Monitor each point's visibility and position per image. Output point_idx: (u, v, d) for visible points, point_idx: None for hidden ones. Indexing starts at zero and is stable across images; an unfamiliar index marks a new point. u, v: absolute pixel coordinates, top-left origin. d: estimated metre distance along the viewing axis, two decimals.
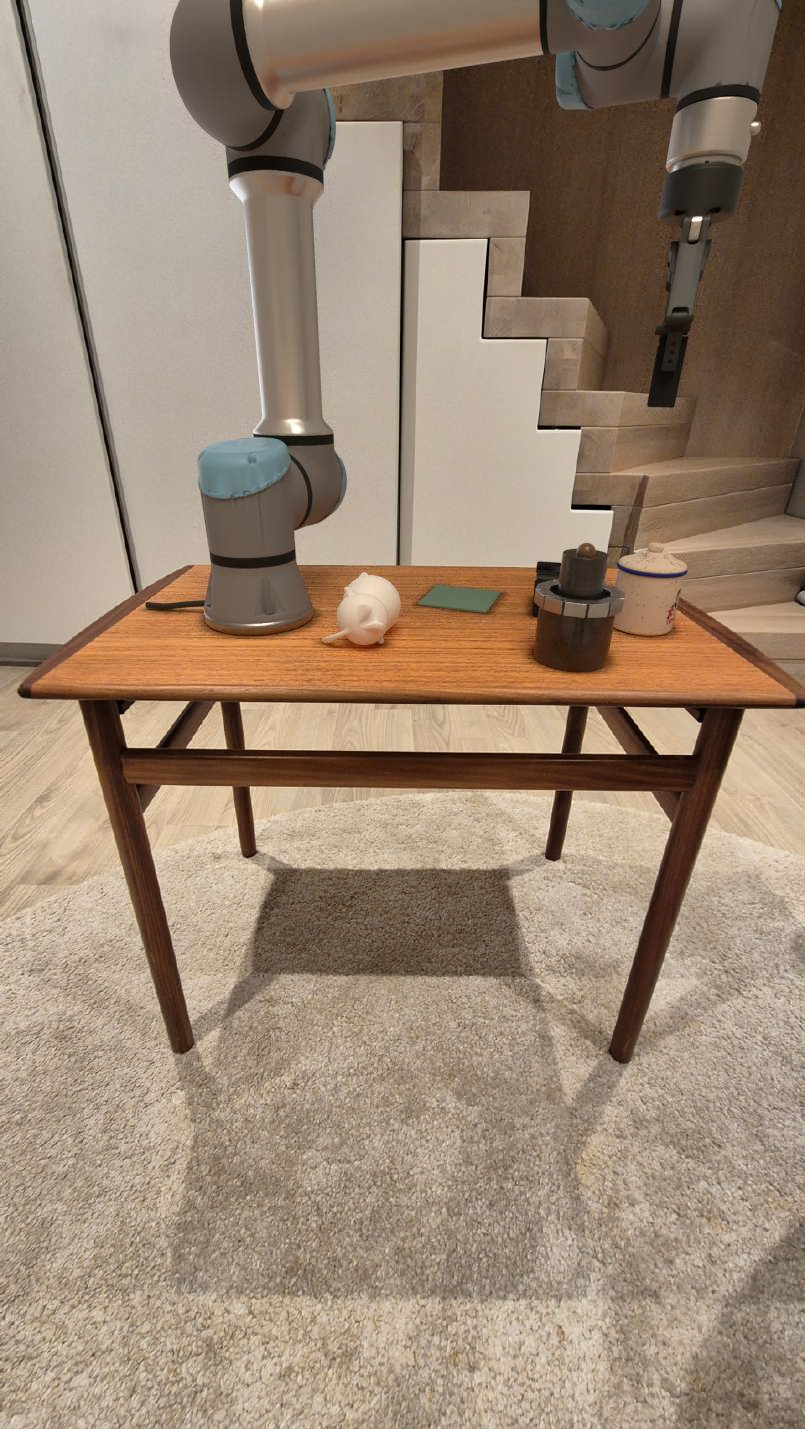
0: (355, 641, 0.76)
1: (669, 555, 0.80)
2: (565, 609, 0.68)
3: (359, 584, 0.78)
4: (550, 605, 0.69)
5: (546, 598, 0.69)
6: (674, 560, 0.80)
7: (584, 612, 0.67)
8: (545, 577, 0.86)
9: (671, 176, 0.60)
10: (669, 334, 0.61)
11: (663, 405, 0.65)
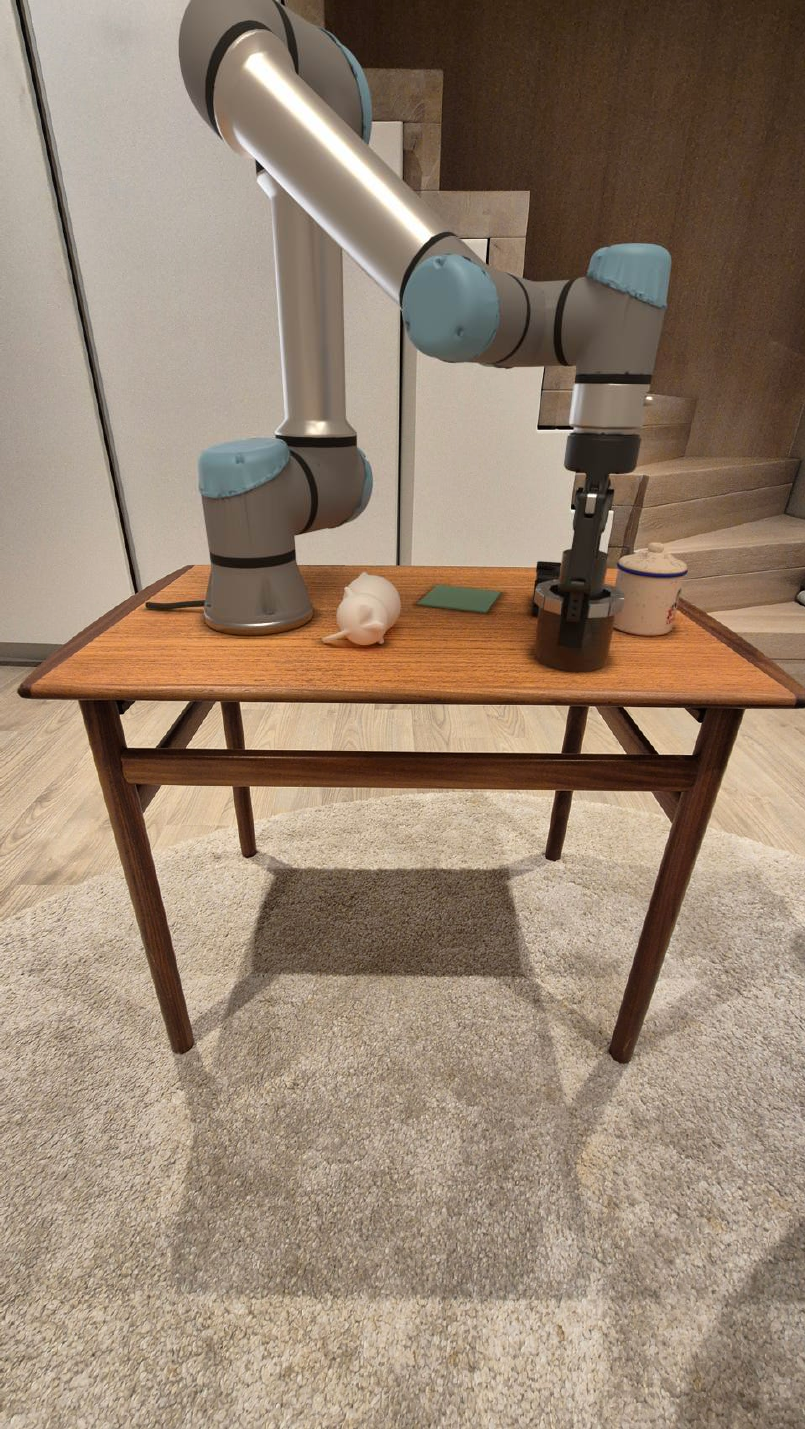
0: (355, 641, 0.76)
1: (669, 555, 0.80)
2: None
3: (359, 584, 0.78)
4: (550, 605, 0.69)
5: (546, 598, 0.69)
6: (674, 560, 0.80)
7: None
8: (545, 577, 0.86)
9: (572, 438, 0.62)
10: (571, 593, 0.65)
11: (571, 645, 0.69)
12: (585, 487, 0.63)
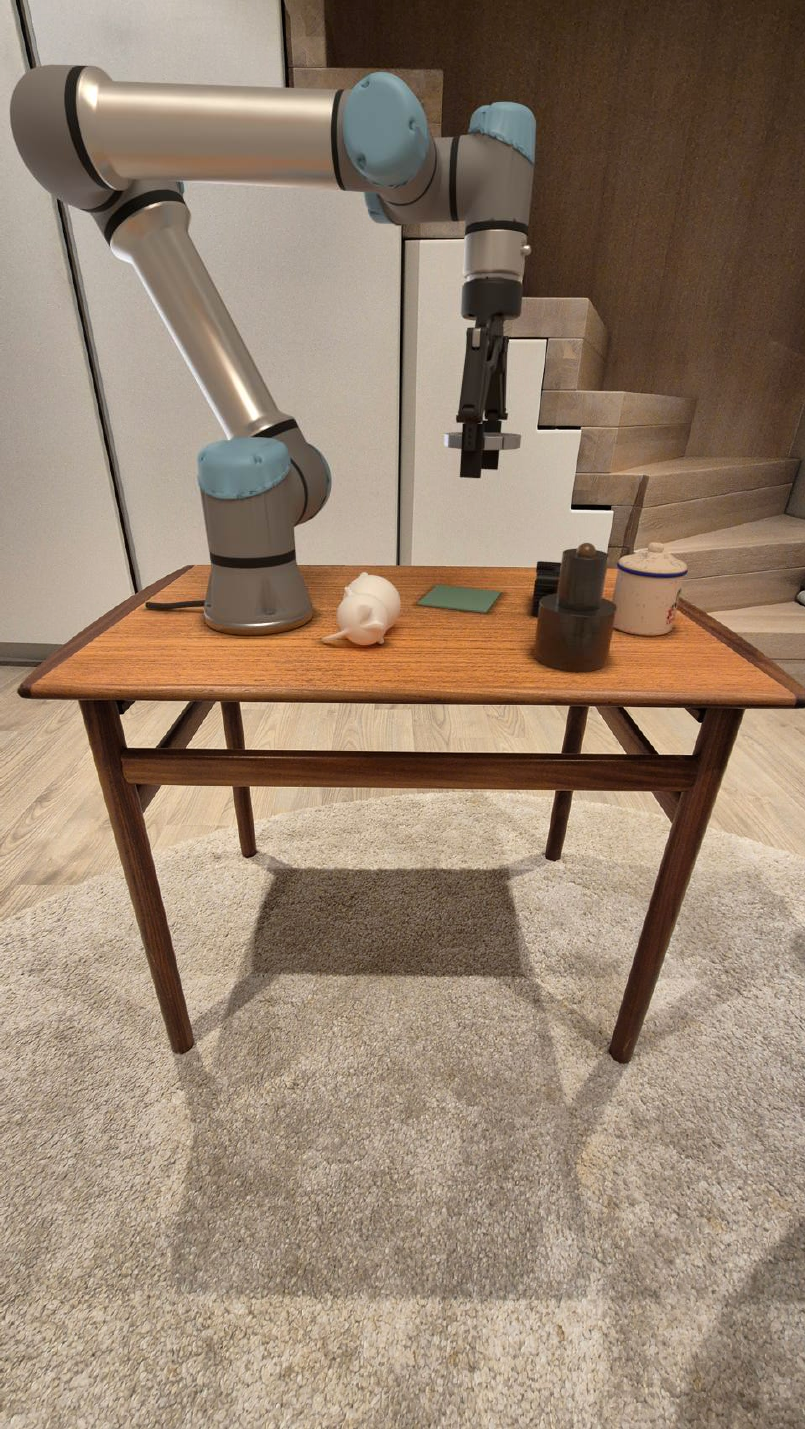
0: (355, 641, 0.76)
1: (669, 555, 0.80)
2: None
3: (359, 584, 0.78)
4: (454, 442, 0.80)
5: (450, 436, 0.80)
6: (674, 560, 0.80)
7: None
8: (545, 577, 0.86)
9: (464, 286, 0.73)
10: (466, 423, 0.76)
11: (471, 476, 0.80)
12: None
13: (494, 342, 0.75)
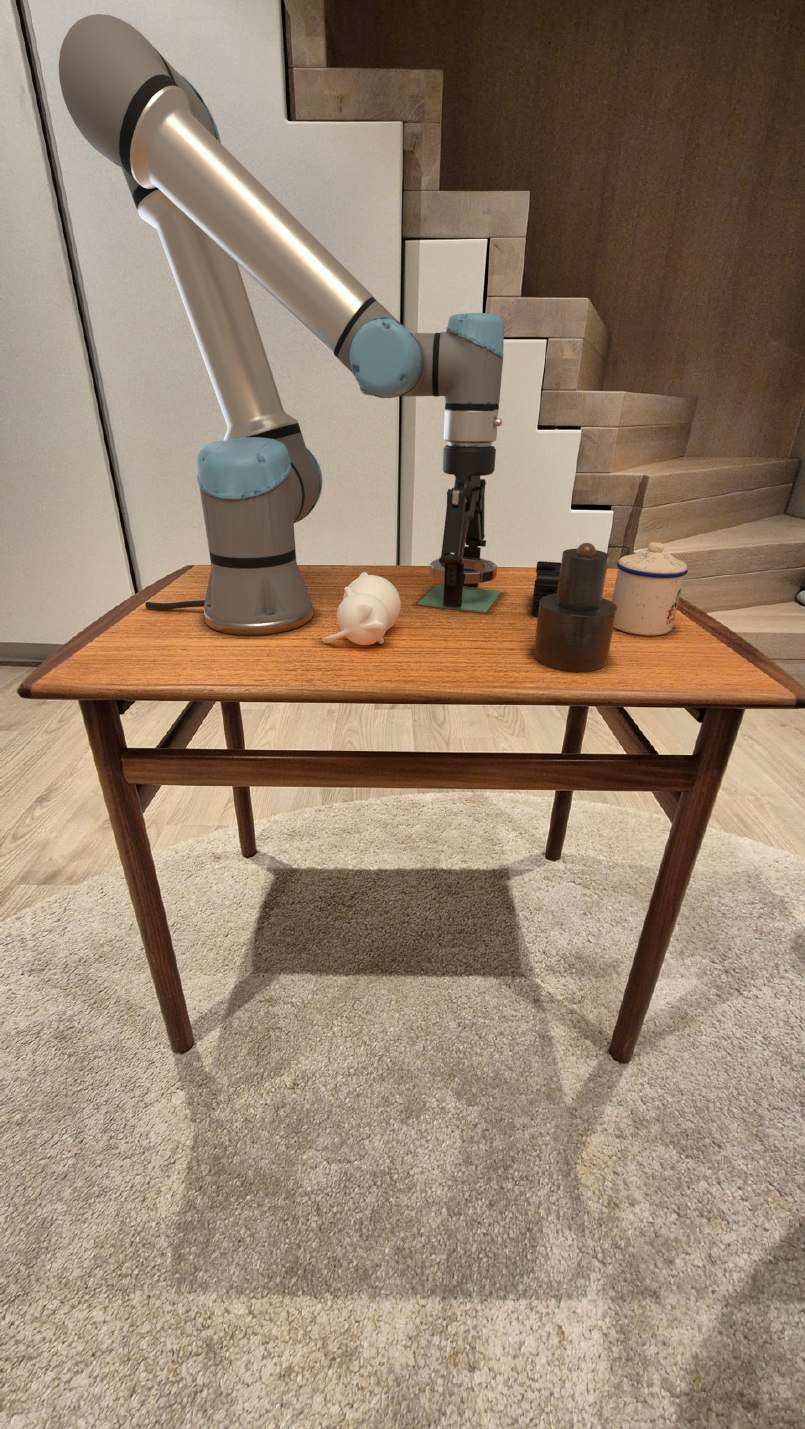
0: (355, 641, 0.76)
1: (669, 555, 0.80)
2: None
3: (359, 584, 0.78)
4: (438, 575, 0.91)
5: (435, 569, 0.91)
6: (674, 560, 0.80)
7: None
8: (545, 577, 0.86)
9: (444, 450, 0.85)
10: (448, 564, 0.87)
11: (453, 605, 0.91)
12: (455, 485, 0.85)
13: (471, 495, 0.86)
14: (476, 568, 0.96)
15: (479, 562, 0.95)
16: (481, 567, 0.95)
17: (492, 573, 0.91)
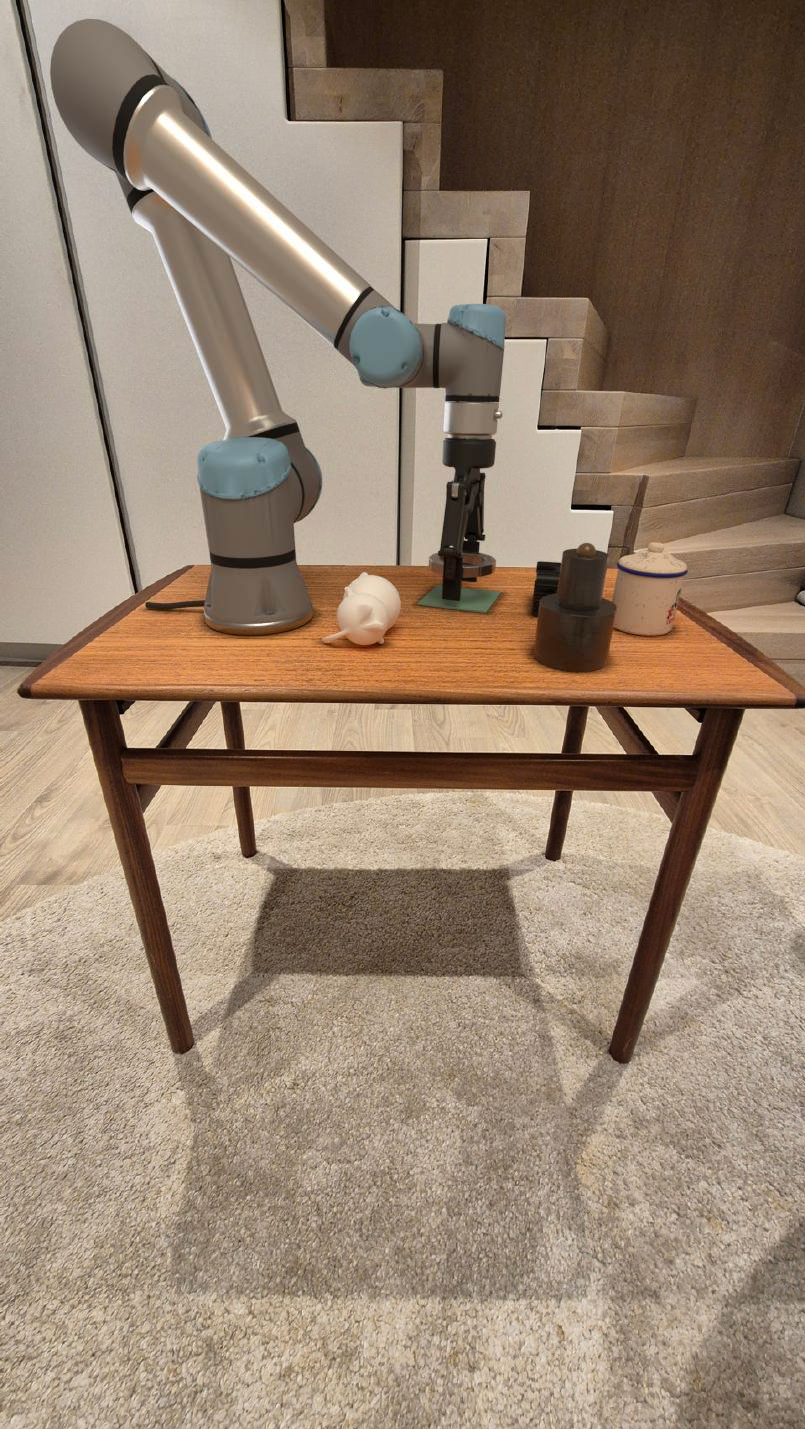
0: (355, 641, 0.76)
1: (669, 555, 0.80)
2: None
3: (359, 584, 0.78)
4: (436, 568, 0.91)
5: (434, 563, 0.91)
6: (674, 560, 0.80)
7: None
8: (545, 577, 0.86)
9: (444, 442, 0.84)
10: (446, 557, 0.87)
11: (451, 599, 0.90)
12: (454, 478, 0.84)
13: (471, 488, 0.86)
14: (475, 562, 0.96)
15: (478, 556, 0.95)
16: (480, 561, 0.95)
17: (491, 567, 0.91)
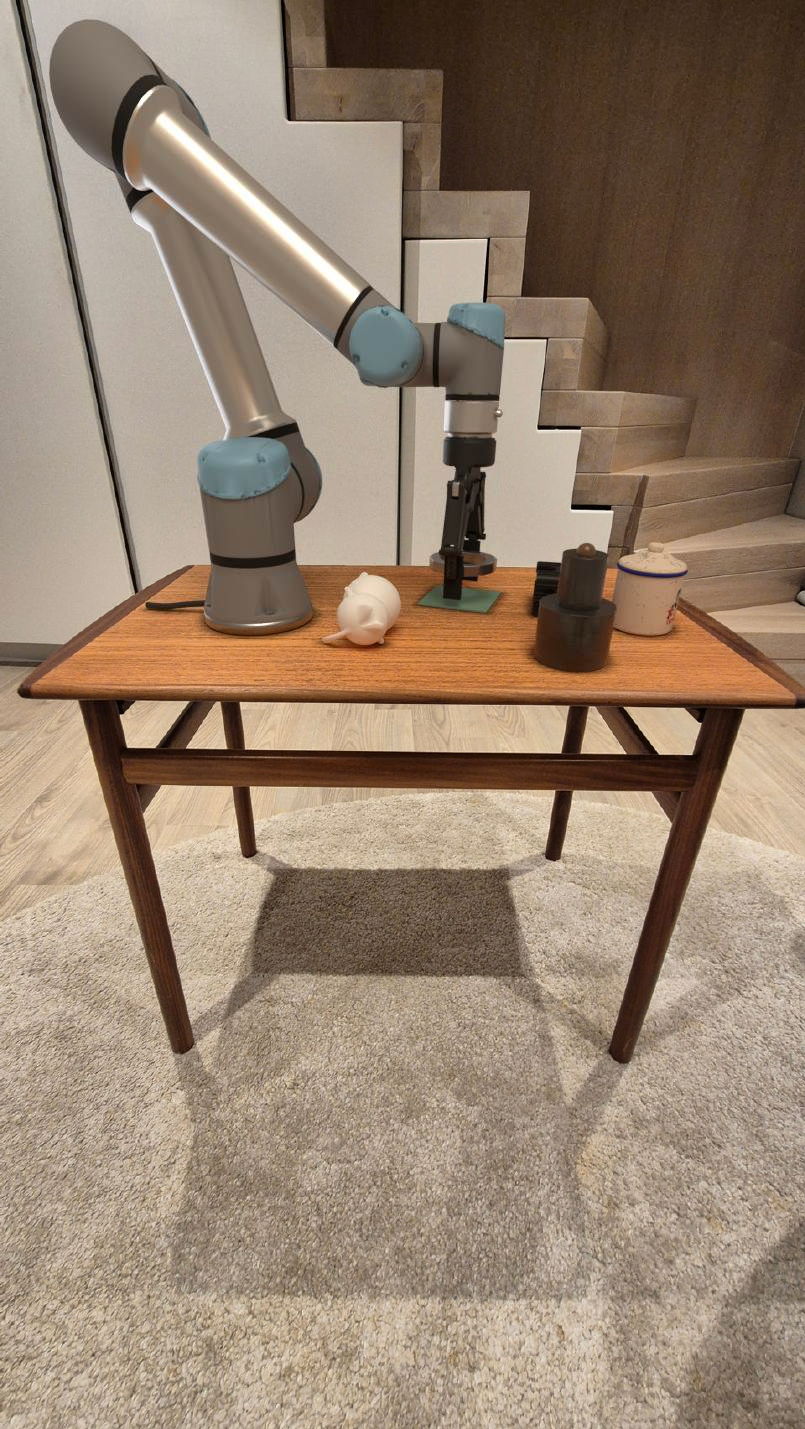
0: (356, 641, 0.76)
1: (669, 555, 0.80)
2: None
3: (359, 584, 0.78)
4: (437, 567, 0.91)
5: (434, 562, 0.91)
6: (674, 560, 0.80)
7: None
8: (545, 577, 0.86)
9: (445, 441, 0.84)
10: (447, 557, 0.86)
11: (453, 598, 0.90)
12: (455, 477, 0.84)
13: (471, 487, 0.86)
14: (476, 561, 0.96)
15: (479, 555, 0.95)
16: (481, 560, 0.95)
17: (492, 566, 0.91)
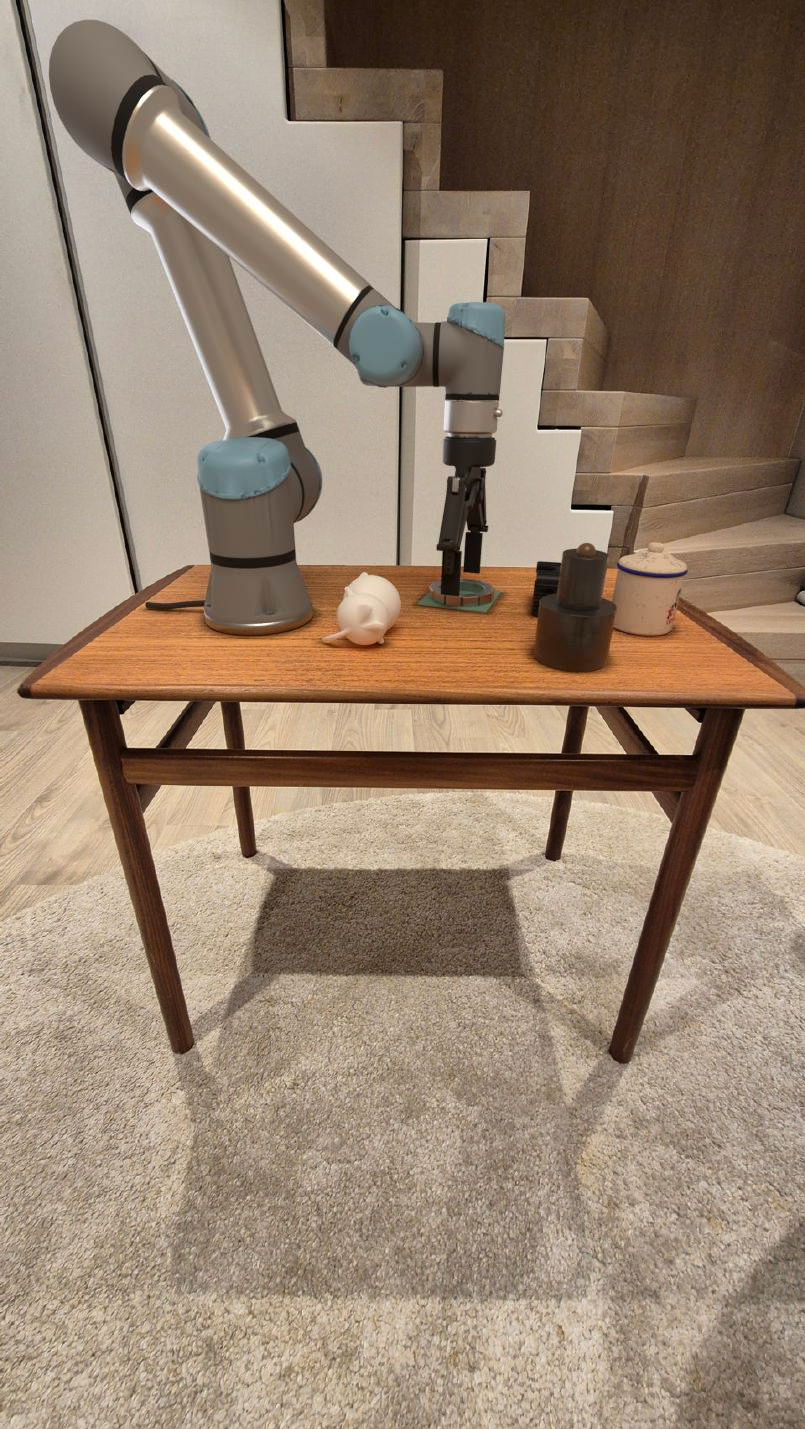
0: (356, 641, 0.76)
1: (669, 555, 0.80)
2: (446, 601, 0.92)
3: (359, 584, 0.78)
4: (437, 598, 0.93)
5: (434, 593, 0.93)
6: (674, 560, 0.80)
7: (459, 603, 0.91)
8: (545, 577, 0.86)
9: (445, 441, 0.84)
10: (445, 552, 0.85)
11: (450, 594, 0.89)
12: (454, 477, 0.84)
13: (471, 486, 0.86)
14: (474, 590, 0.98)
15: (477, 584, 0.97)
16: (479, 589, 0.97)
17: (490, 596, 0.93)
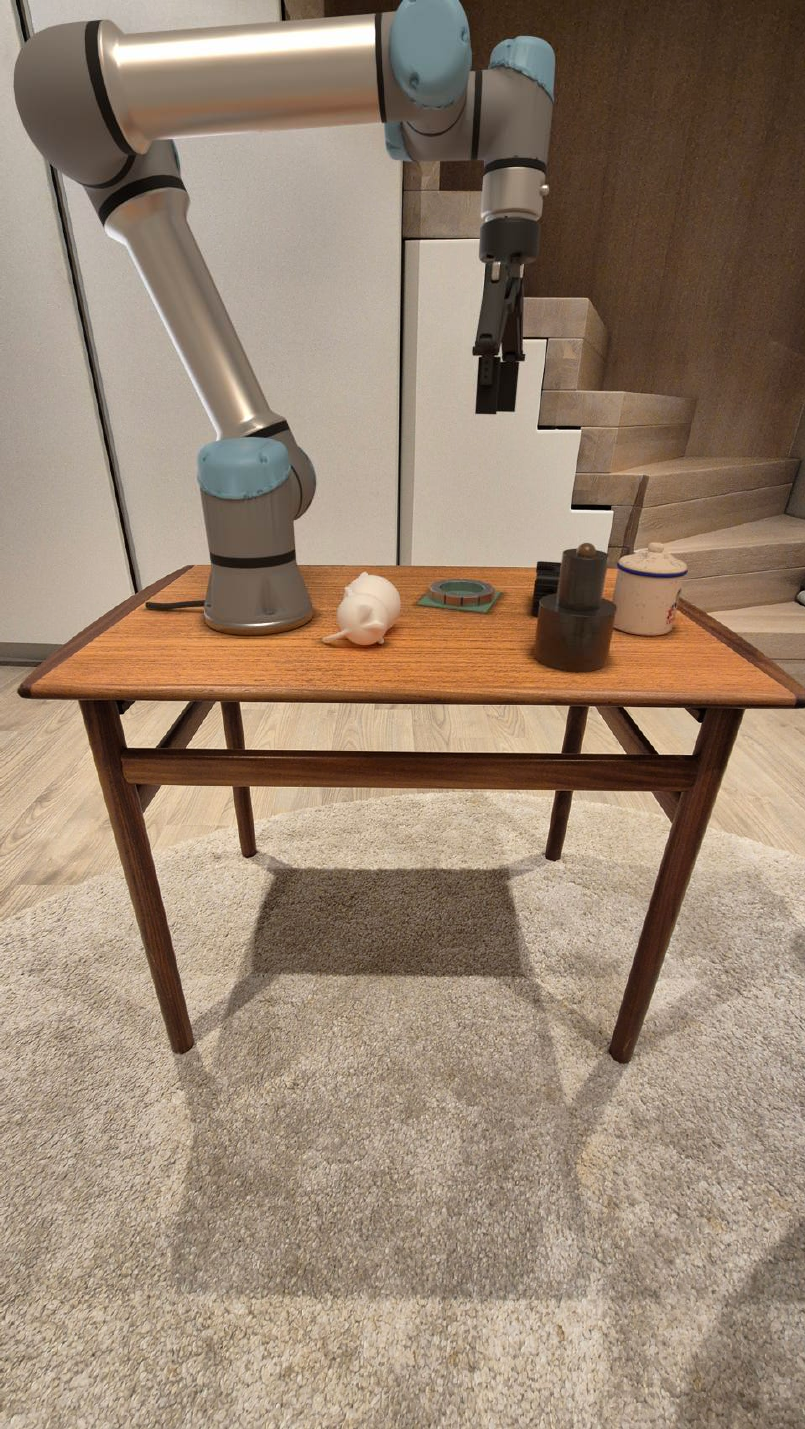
0: (356, 641, 0.76)
1: (669, 555, 0.80)
2: (446, 601, 0.92)
3: (359, 584, 0.78)
4: (437, 598, 0.93)
5: (434, 593, 0.93)
6: (674, 560, 0.80)
7: (459, 603, 0.91)
8: (545, 577, 0.86)
9: (482, 227, 0.74)
10: (482, 355, 0.75)
11: (487, 412, 0.79)
12: None
13: (512, 282, 0.76)
14: (474, 590, 0.98)
15: (477, 584, 0.97)
16: (479, 589, 0.97)
17: (490, 596, 0.93)
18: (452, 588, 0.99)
